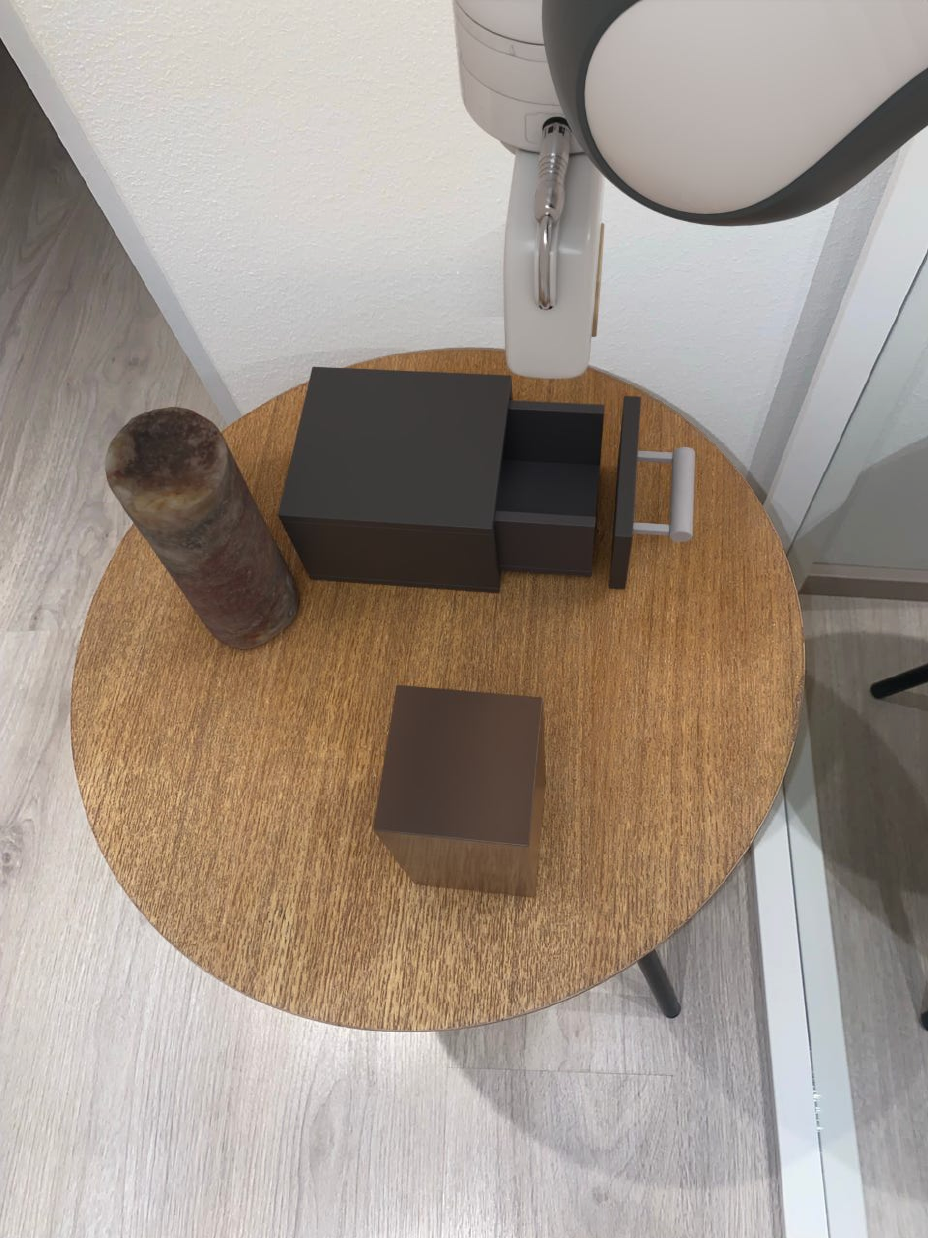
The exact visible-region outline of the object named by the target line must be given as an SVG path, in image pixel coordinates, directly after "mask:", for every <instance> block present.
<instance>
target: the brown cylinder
mask: <svg viewBox="0 0 928 1238" xmlns="http://www.w3.org/2000/svg"><path fill="white" fill-rule="evenodd" d="M106 451H107V452H106V454H105V460H104V469H105V470H104V472H105V475H106V481H107V484H108V487H109V489H110V490H111V492H112V494H113V495H114V497H115V498H116V500H117V501H118V502H119V503H120V505H121V507H122V509H123V510H124V512H125V513H126V515H128V518H129V519H130V520H131V522H132V523H133V524H134V526H135V527H136V528H137V530H138V532H139V533H141V535H142V537H143V538H144V540H145V541H146V543H147V544H148V546H149V547H150V548H151V550H152V551H153V552H154V554H155V556H156V557H157V558H158V560H159V561H160V563H161V564H162V565H163V567H164V568H165V569H166V571H167V572H168V574H169V575H170V577H171V578H172V580H173V581H174V582H175V584H176V585H177V587H178V589H179V590H180V591H181V593H182V594H183V596H184V597H185V599H186V601H187V602H188V603H189V604H190V606H191V607H192V609H193V610H194V612H195V614H196V615H197V616H198V618H199V619H200V621H201V622H202V624H203V625H204V626H205V627H206V629H207V630H208V631H209V633H210V634H211V636H213V637H214V638H215V639H216V640H217V641H218V642H220V643H222V644H223V645H225V646H227V647H230V648H232V649H242V650H249V649H253V648H254V647H259V646H262V645H264V644H266V643H268V641H270V640H271V639H272V638H274V637H276V636H277V635H279V634H280V633H281V632H282V631H284V630H285V629H286V628H287V627H288V626H289V625H290V624H291V623H292V621H293V620H294V618H295V616H296V615H297V610H298V607H299V591H298V586H297V583H296V580H295V578H294V576H293V574H292V572H291V570H290V568H289V566H288V563H287V561H286V559H285V557H284V554H283V553H282V551H281V549H280V548H279V545H278V543H277V542H276V540H275V538H274V536H273V534H272V532H271V530H270V528H269V526H268V524H267V522H266V520H265V518H264V517H263V514H262V512H261V510H260V508H259V505H258V504H257V502H256V500H255V498H254V495H253V494H252V492H251V490H250V488H249V486H248V483H247V481H246V480H245V478H244V476H243V474H242V472H241V469H240V468H239V465H238V463H237V461H236V459H235V458H234V455H233V453H232V451H231V449H230V446H229V444H228V442H227V441H226V439H225V437H224V435H223V434H222V432H221V430H220V429H219V428H218V426H217V425H216V423H214V422H213V421H212V420H210V419H209V418H207V417H206V416H203V415H202V414H200V413H198V412H197V411H194V410H191V409H189V408H184V407H180V406H169V407H164V408H156V409H152V410H149V411H145V412H142V413H140V414H137V415H136V416H133V417H130V419H129V420H128V422H127V423H126V424H124V426H122V427H121V429H119V431H118V432H117V433H116V434H115V436H114V437H113V438H112V440H111V441H110V442H109V446H108V447H107V450H106Z"/></svg>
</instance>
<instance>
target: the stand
mask: <svg viewBox="0 0 928 1238" xmlns="http://www.w3.org/2000/svg"><path fill="white" fill-rule="evenodd" d="M391 710H392V711H391V716H390V722H389V729H388V735H387V741H386V747H385V752H384V753H385V754H384V759H383V766H382V771H381V778H380V783H379V790H378V796H377V803H376V808H375V813H374V814H375V815H374V821H373V827H372V831H373V832H374V833H375V834H376V836H377V837H378V839H379V840H380V841H381V843H382V844H383V845H384V846H385V848H386V850H388V852H389V853H390V854H391V856H392V857H393V858H394V860H395V861H396V862H397V863H398V865H399V866H400V867H401V869H402V870H403V871H404V872H405V874H406V875H407V877H408V878H409V879H410V880H411V882H412V884H414V885H419V886H426V887H435V888H442V889H443V888H444V889H453V890H461V891H462V890H463V891H470V892H480V893H489V894H497V895H505V896H512V897H513V896H515V897H523V898H531V899H535V898H536V891H537V882H538V881H537V880H538V871H539V858H540V850H541V849H540V848H541V838H542V837H541V836H542V828H543V827H542V826H543V815H544V803H545V793H546V785H547V769H546V766H547V765H546V741H545V738H546V737H545V715H544V711H545V709H544V698H543V697H542V696H531V695H520V694H509V693H496V692H495V693H494V692H486V691H471V690H461V689H451V688H450V689H449V688H438V687H427V686H417V685H416V686H414V685H404V684H396V686H395V692H394V697H393V705H392V709H391Z"/></svg>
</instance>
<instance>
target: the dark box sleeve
mask: <svg viewBox="0 0 928 1238" xmlns="http://www.w3.org/2000/svg"><path fill="white" fill-rule="evenodd" d="M512 378H513V377H512V375H507V374H490V373H489V374H486V373H466V372H465V373H463V372H442V371H441V372H440V371H420V370H419V371H418V370H395V369H375V368H374V369H373V368H372V369H371V368H352V367H351V368H350V367H332V366H331V367H330V366H329V367H328V366H312V367H311V371H310V376H309V380H308V383H307V389H306V393H305V397H304V402H303V406H302V410H301V413H300V418H299V423H298V426H297V430H296V431H297V432H296V436H295V440H294V445H293V448H292V453H291V457H290V461H289V465H288V470H287V474H286V478H285V482H284V487H283V491H282V496H281V500H280V503H279V508H278V512H277V517H278V519H279V520H280V522H281V524H282V526H283V528H284V530H285V533H286V534H287V536H288V538H289V540H290V542H291V544H292V546H293V548H294V549H295V552H296V554H297V556H298V558H299V560H300V562H301V565H302V566H303V568H304V570H305V572H306V574H307V576H308V578H309V580H311V581H313V580H314V581H327V582H338V583H339V582H340V583H353V584H366V585H381V586H394V587H395V586H396V587H405V588H406V587H408V588H420V589H436V590H448V591H459V592H460V591H461V592H473V593H474V592H476V593H486V594H487V593H490V594H500V592H501V583H502V574H503V571H500V570H499V568H498V560H497V551H496V542H495V533H494V518H495V510H496V503H497V495H498V487H499V479H500V471H501V464H502V456H503V448H504V440H505V432H506V425H507V417H508V409H509V401H510V400H514V393H513V380H512Z"/></svg>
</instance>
